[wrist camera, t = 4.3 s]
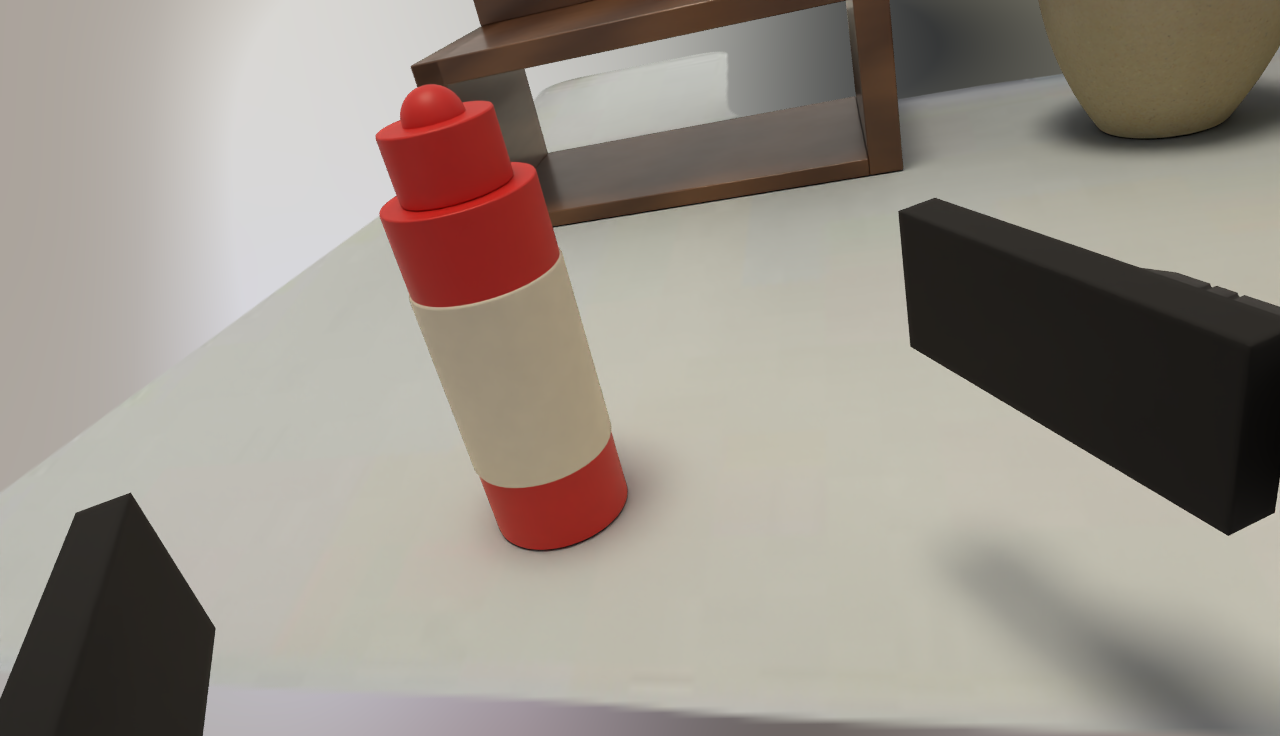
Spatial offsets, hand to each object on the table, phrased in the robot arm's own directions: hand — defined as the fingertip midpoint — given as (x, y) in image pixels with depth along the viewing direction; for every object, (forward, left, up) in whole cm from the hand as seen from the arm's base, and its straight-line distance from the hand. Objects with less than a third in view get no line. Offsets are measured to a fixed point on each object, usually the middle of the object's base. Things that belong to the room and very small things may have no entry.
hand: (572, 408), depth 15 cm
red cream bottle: (-4, +6, -7) cm, 10 cm away
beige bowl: (+18, +30, -7) cm, 36 cm away
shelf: (-4, +35, -7) cm, 36 cm away
